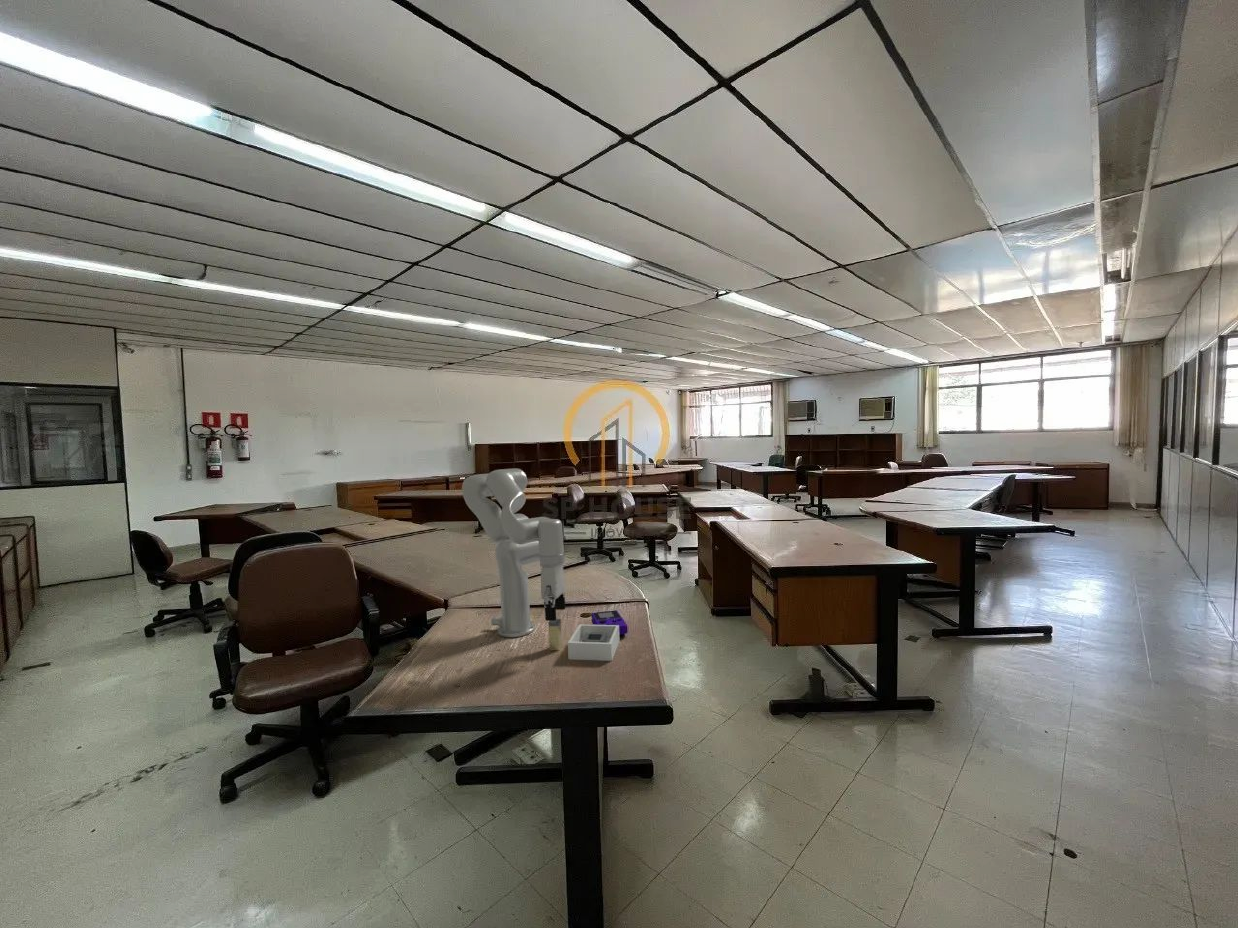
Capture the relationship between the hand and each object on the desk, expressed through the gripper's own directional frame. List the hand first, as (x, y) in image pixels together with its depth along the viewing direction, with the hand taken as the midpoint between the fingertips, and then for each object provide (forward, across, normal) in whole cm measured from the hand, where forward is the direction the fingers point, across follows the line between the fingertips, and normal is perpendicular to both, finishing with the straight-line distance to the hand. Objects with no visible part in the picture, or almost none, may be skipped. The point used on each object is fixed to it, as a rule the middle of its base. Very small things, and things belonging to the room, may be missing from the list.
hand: (555, 614), depth 146 cm
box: (+11, -1, +12) cm, 16 cm away
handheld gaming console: (+11, -15, +13) cm, 23 cm away
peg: (+11, -1, -1) cm, 11 cm away
